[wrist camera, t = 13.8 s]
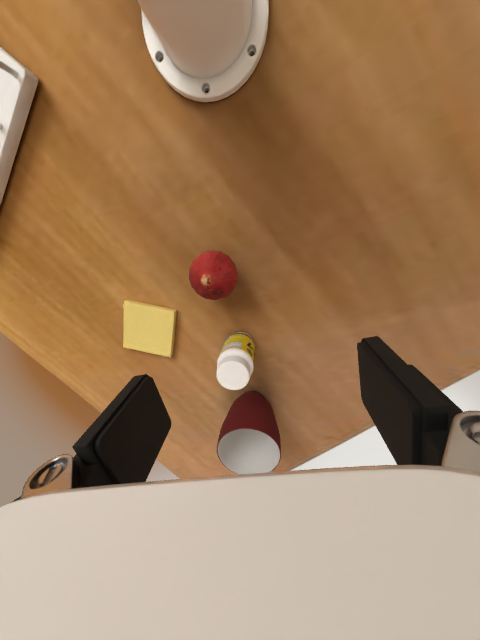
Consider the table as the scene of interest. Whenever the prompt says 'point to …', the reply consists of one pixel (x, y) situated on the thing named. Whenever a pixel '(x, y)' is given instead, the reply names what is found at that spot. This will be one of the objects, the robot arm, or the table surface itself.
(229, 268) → the onion
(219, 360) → the supplement bottle
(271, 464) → the mug
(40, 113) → the table surface
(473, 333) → the table surface
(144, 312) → the sticky note pad
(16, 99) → the file sorter
